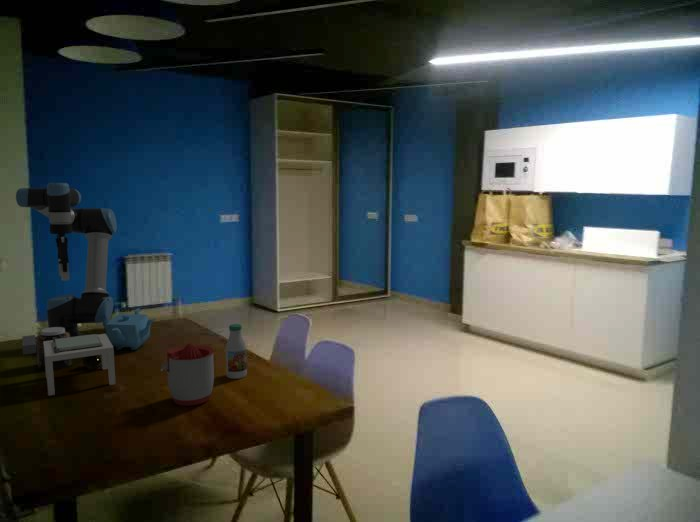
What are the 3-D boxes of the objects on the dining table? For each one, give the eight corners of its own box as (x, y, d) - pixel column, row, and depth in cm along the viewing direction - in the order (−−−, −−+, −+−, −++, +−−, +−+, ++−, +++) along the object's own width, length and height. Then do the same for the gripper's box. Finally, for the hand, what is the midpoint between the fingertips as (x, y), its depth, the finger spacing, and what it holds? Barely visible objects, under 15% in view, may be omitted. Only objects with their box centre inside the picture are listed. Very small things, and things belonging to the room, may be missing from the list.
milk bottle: (222, 377, 205) (220, 326, 202) (235, 371, 211) (234, 321, 209) (238, 380, 201) (236, 328, 198) (251, 374, 208) (249, 324, 205)
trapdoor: (23, 355, 184) (22, 346, 183) (23, 345, 196) (22, 336, 195) (100, 345, 196) (100, 336, 196) (96, 336, 208) (95, 327, 208)
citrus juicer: (161, 395, 186) (159, 339, 184) (212, 389, 193) (211, 335, 190) (163, 413, 172) (160, 352, 169) (218, 405, 178) (216, 347, 175)
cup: (106, 368, 221) (96, 371, 213) (90, 362, 221) (79, 365, 213) (112, 351, 221) (102, 353, 213) (96, 345, 221) (85, 348, 213)
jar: (46, 372, 209) (44, 335, 207) (33, 366, 216) (30, 329, 214) (76, 365, 219) (74, 329, 217) (63, 359, 226) (61, 324, 224)
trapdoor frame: (45, 377, 204) (42, 337, 202) (107, 367, 215) (105, 329, 213) (48, 395, 186) (45, 352, 184) (115, 384, 197) (113, 343, 195)
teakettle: (103, 344, 245) (98, 314, 240) (144, 332, 256) (140, 303, 252) (117, 358, 231) (112, 327, 227) (159, 345, 243) (155, 315, 238)
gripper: (47, 221, 215) (51, 274, 218) (50, 225, 194) (55, 283, 197) (69, 221, 219) (72, 272, 222) (74, 224, 198) (77, 281, 200)
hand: (64, 277), depth 209 cm, fingers open, 13 cm apart
